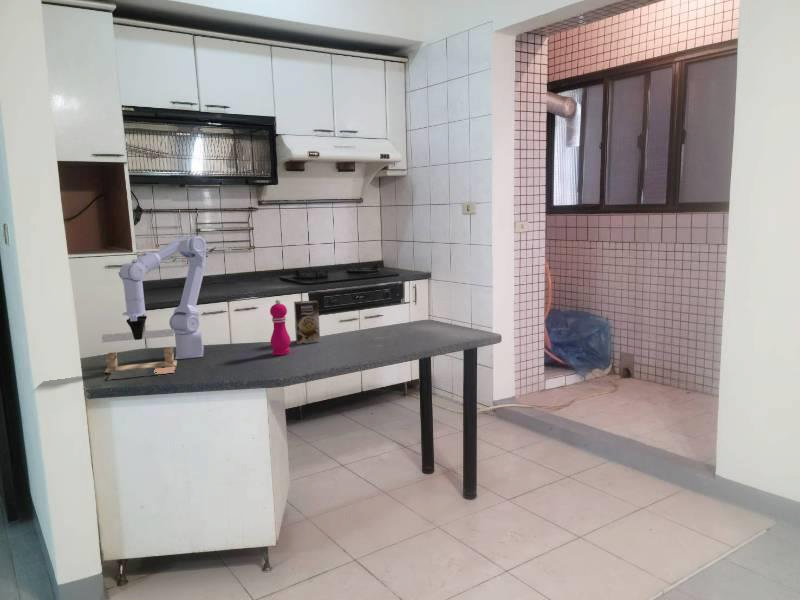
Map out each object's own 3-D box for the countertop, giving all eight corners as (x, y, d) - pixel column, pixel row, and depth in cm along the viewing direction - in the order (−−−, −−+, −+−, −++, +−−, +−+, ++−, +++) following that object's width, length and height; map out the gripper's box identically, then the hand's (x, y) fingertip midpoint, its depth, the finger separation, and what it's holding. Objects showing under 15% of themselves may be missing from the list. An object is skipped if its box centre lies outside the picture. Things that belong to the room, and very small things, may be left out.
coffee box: (297, 344, 228) (294, 303, 226) (295, 341, 235) (293, 301, 232) (320, 342, 231) (318, 301, 228) (318, 339, 237) (316, 299, 234)
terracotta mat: (175, 367, 199) (175, 366, 199) (173, 373, 192) (173, 372, 192) (111, 374, 194) (110, 372, 194) (106, 380, 186) (106, 379, 186)
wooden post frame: (176, 362, 206) (175, 346, 205) (175, 367, 200) (174, 350, 199) (108, 369, 200) (106, 352, 199) (104, 374, 194) (102, 356, 193)
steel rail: (173, 334, 203) (173, 328, 202) (173, 336, 200) (172, 329, 200) (103, 341, 196) (103, 334, 196) (102, 342, 194) (101, 335, 194)
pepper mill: (267, 355, 213) (263, 300, 210) (279, 350, 219) (276, 297, 216) (282, 356, 209) (279, 301, 206) (295, 352, 216) (292, 298, 213)
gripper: (125, 297, 202) (129, 335, 204) (118, 303, 188) (122, 344, 190) (147, 295, 204) (151, 333, 206) (141, 301, 190) (146, 342, 192)
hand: (138, 338), depth 198 cm, fingers closed on steel rail, 2 cm apart
